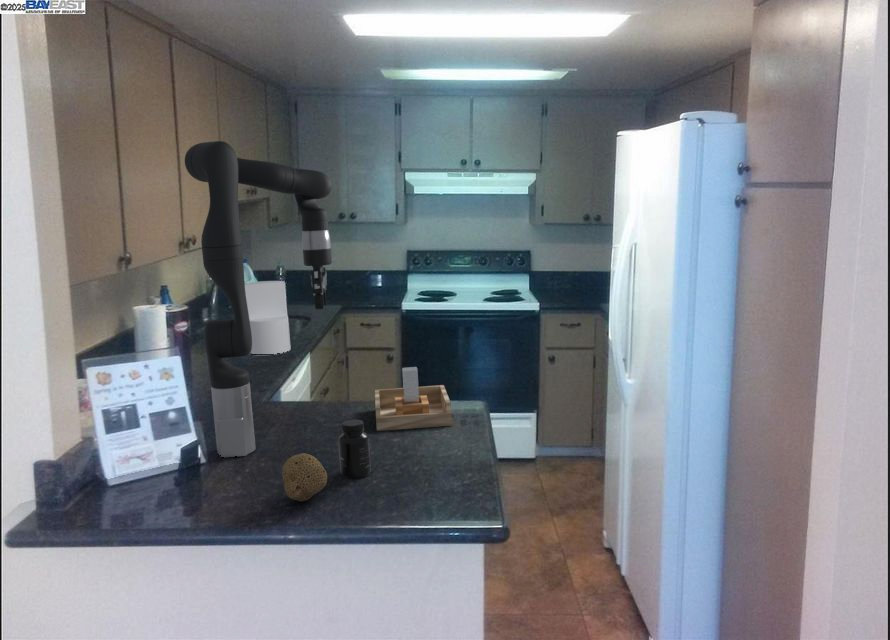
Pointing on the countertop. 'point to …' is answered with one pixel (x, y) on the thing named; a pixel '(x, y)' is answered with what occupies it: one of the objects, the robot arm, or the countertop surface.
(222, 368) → the robot arm
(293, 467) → the natural sponge
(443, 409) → the walled box
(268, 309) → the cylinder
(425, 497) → the countertop surface
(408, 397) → the connector peg
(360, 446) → the supplement bottle
